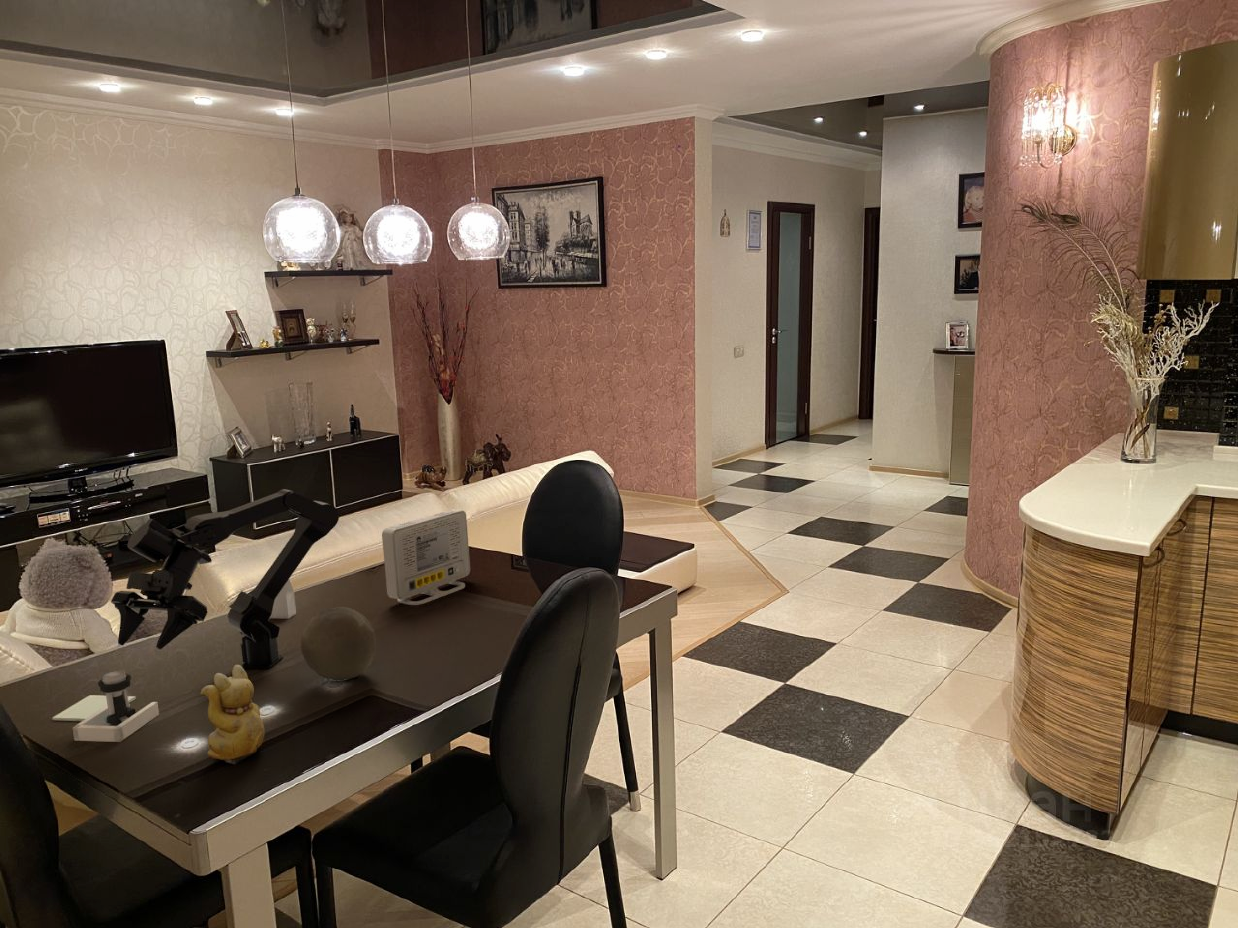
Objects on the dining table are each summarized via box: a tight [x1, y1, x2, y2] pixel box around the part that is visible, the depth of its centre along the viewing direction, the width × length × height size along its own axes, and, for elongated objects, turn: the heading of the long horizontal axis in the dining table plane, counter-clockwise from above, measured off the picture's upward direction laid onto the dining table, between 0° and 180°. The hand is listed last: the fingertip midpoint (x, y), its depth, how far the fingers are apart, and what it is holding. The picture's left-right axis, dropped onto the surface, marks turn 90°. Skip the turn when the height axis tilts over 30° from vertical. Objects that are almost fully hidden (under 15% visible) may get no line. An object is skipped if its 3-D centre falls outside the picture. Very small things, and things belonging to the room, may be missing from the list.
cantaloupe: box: [300, 606, 377, 682], centre depth 185 cm, size 14×14×15 cm
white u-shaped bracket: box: [72, 701, 160, 743], centre depth 169 cm, size 9×11×2 cm
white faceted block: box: [270, 579, 297, 619], centre depth 227 cm, size 4×7×10 cm, turn 81°
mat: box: [52, 694, 137, 722], centre depth 177 cm, size 10×10×1 cm
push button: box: [97, 670, 137, 726], centre depth 168 cm, size 7×5×10 cm
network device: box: [381, 508, 471, 606], centre depth 239 cm, size 26×9×20 cm, turn 144°
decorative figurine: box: [200, 664, 266, 765], centre depth 155 cm, size 10×8×15 cm
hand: (139, 646), depth 174 cm, fingers open, 9 cm apart
